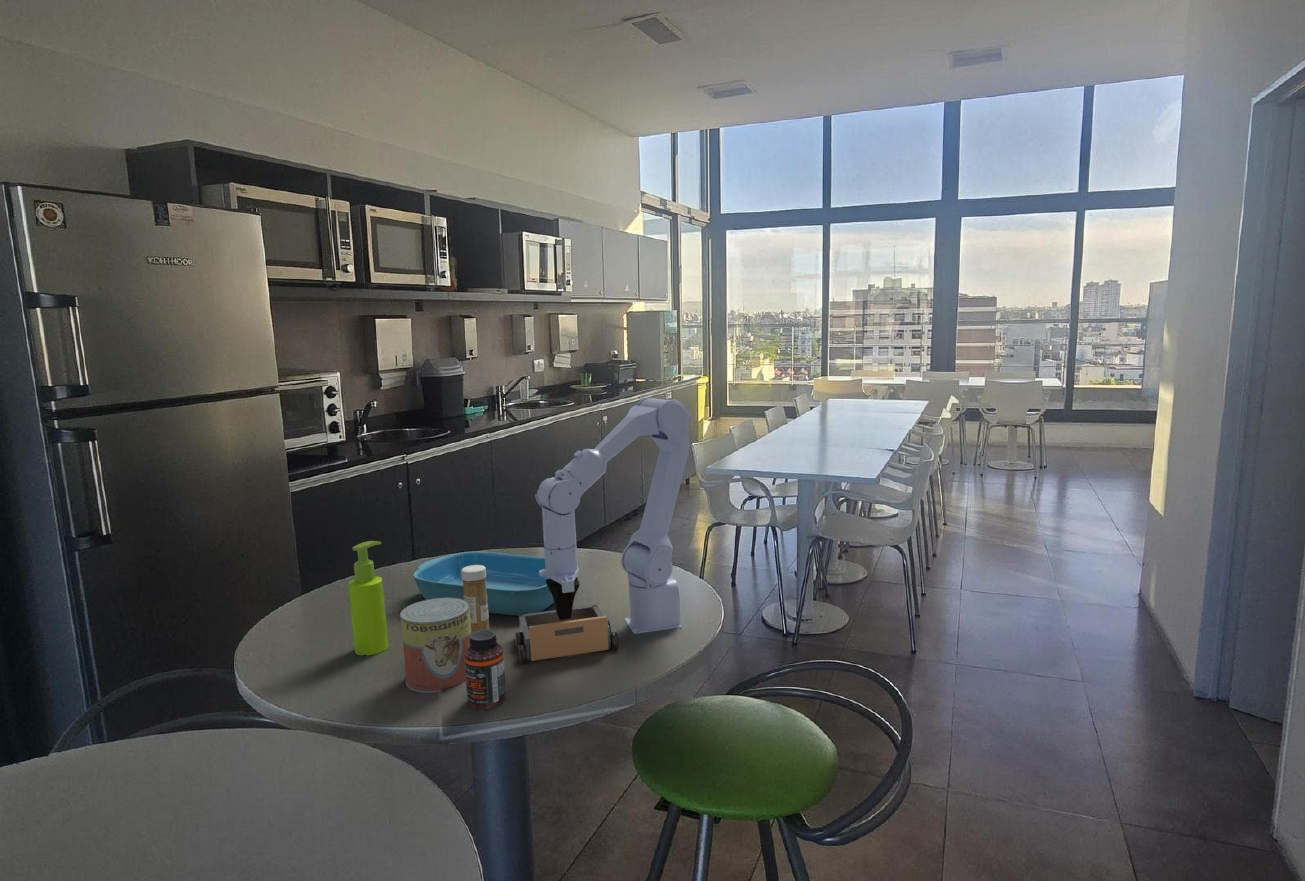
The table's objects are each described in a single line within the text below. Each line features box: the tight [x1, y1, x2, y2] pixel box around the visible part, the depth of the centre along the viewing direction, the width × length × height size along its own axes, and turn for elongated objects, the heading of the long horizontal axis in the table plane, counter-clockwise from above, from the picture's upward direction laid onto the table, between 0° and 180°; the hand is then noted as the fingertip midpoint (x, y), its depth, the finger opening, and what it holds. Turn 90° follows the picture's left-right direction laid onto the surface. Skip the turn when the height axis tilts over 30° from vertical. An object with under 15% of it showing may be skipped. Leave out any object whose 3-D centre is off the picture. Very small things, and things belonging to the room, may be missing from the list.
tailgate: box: [529, 615, 609, 662], centre depth 133 cm, size 14×1×6 cm, turn 106°
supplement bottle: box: [464, 629, 507, 710], centre depth 118 cm, size 6×6×11 cm
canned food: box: [399, 598, 471, 694], centre depth 127 cm, size 11×11×12 cm
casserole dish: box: [413, 550, 554, 617], centre depth 165 cm, size 37×22×7 cm, turn 70°
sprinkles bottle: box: [461, 565, 491, 634], centre depth 144 cm, size 5×5×14 cm
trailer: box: [514, 604, 620, 665], centre depth 139 cm, size 17×13×4 cm
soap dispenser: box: [347, 540, 389, 656], centre depth 140 cm, size 6×7×20 cm
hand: (564, 618), depth 137 cm, fingers closed
